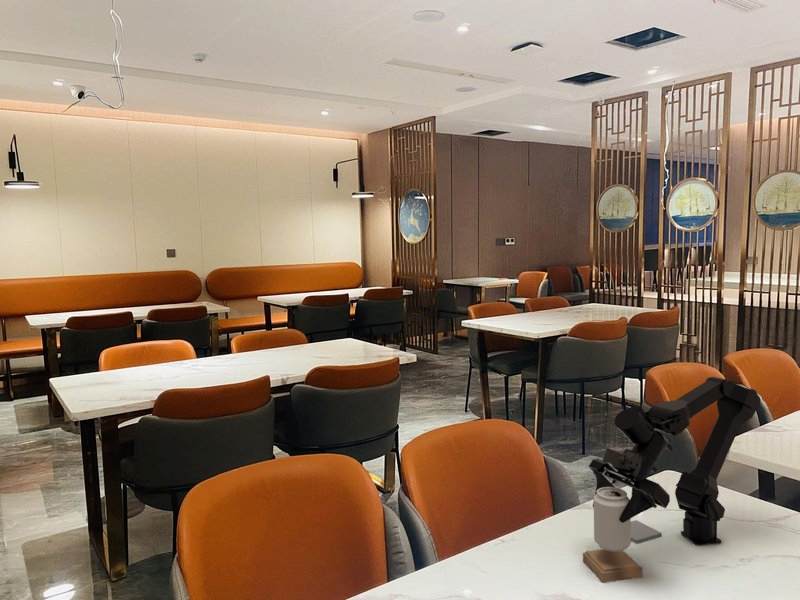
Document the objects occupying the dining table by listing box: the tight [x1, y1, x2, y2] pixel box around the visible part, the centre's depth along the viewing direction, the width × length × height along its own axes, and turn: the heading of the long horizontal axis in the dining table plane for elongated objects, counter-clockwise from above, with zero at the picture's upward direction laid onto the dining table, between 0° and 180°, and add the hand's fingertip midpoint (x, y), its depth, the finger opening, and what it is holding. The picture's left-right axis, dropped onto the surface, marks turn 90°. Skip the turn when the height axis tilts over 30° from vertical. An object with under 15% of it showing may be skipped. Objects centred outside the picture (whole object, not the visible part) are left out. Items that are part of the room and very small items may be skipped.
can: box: [593, 486, 632, 552], centre depth 133 cm, size 8×8×12 cm
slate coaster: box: [631, 519, 663, 544], centre depth 150 cm, size 8×8×1 cm
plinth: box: [582, 548, 643, 583], centre depth 134 cm, size 9×9×2 cm
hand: (607, 514), depth 132 cm, fingers closed on can, 7 cm apart
